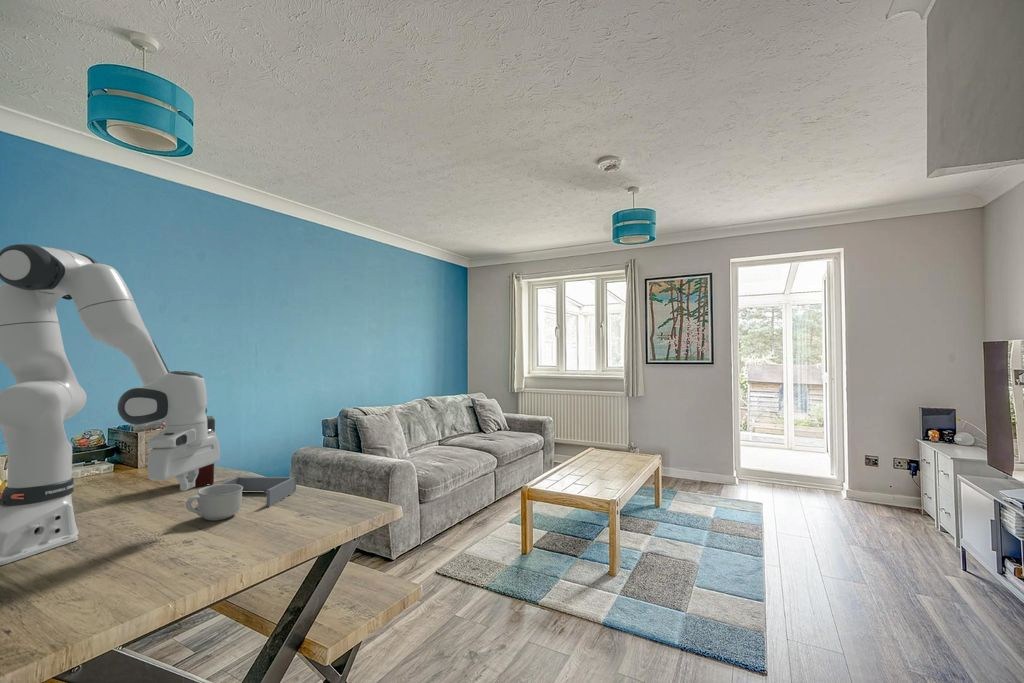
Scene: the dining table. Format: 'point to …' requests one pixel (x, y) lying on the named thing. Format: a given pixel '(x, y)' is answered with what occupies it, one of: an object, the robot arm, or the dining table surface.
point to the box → (267, 486)
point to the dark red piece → (207, 472)
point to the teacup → (217, 501)
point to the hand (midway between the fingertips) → (187, 489)
